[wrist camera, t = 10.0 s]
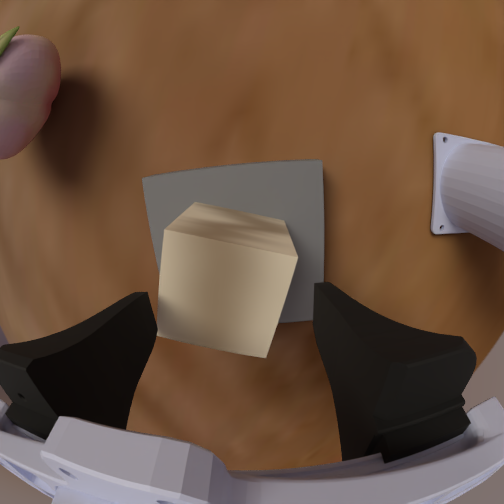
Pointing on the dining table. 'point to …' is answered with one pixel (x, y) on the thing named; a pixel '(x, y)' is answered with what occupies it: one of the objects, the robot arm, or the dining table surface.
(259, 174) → the charcoal base
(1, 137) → the decorative fruit
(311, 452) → the dining table surface
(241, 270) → the birch cube
